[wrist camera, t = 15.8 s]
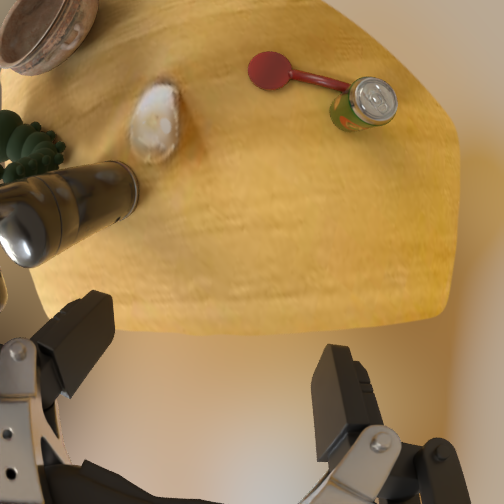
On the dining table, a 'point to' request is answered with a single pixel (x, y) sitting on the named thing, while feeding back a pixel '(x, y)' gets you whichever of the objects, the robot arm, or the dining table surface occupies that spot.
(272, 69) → the spoon
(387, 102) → the soda can
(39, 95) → the dining table surface
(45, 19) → the cooking pot
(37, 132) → the toy figurine
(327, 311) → the dining table surface
